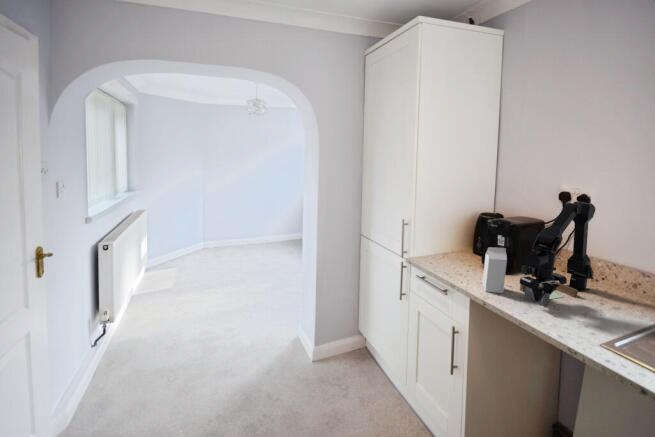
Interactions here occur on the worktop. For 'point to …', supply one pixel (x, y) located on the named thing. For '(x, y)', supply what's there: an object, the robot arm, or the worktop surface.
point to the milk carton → (494, 270)
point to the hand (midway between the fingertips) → (540, 300)
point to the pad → (555, 296)
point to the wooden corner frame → (559, 289)
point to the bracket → (543, 299)
